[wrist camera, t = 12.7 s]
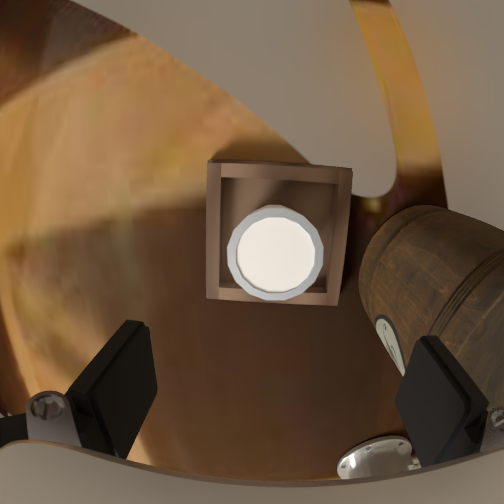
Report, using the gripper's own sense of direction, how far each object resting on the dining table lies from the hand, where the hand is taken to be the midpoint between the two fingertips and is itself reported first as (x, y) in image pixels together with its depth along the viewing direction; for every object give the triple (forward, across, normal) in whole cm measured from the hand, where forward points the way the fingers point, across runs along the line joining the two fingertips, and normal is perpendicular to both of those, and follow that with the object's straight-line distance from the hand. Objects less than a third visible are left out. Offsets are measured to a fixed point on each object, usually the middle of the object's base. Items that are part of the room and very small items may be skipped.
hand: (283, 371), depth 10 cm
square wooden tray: (+20, 0, 0) cm, 20 cm away
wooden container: (+21, -16, +3) cm, 26 cm away
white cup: (+20, 0, 0) cm, 20 cm away
